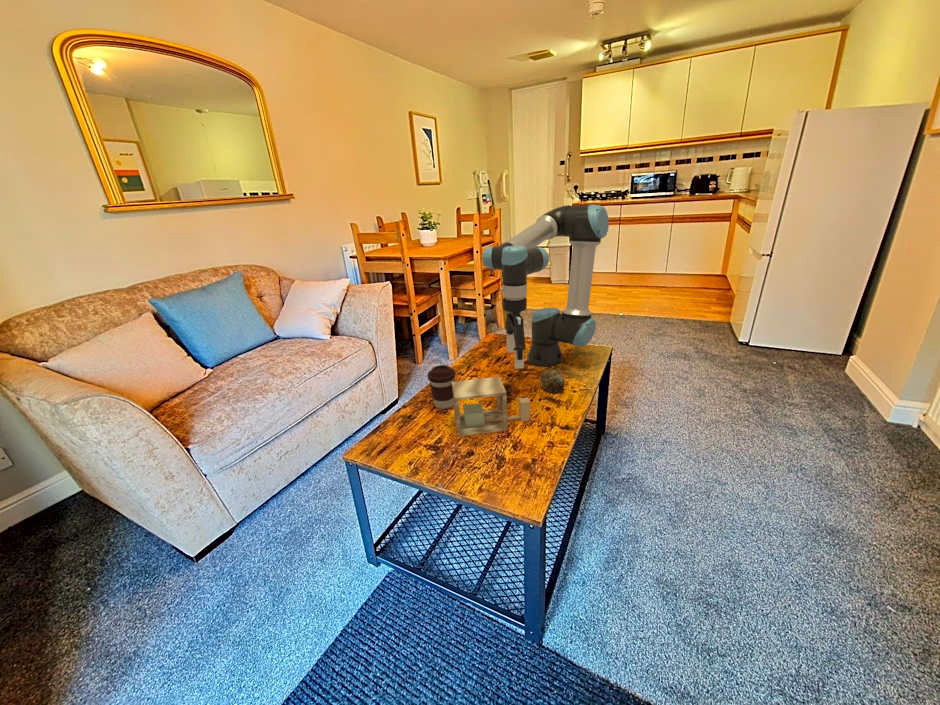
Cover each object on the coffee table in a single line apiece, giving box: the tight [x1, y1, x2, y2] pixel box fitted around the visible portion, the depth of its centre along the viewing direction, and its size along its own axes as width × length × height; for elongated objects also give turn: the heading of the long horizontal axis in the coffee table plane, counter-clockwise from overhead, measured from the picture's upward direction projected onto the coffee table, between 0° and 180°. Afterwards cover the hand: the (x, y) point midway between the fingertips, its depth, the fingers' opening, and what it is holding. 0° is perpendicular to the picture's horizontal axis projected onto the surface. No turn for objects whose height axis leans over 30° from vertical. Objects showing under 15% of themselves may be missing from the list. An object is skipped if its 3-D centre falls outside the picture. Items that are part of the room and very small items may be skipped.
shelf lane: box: [452, 376, 508, 437], centre depth 128 cm, size 16×11×15 cm
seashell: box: [540, 368, 565, 394], centre depth 150 cm, size 11×9×8 cm
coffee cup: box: [427, 364, 456, 410], centre depth 142 cm, size 10×10×15 cm
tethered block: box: [463, 397, 531, 428], centre depth 130 cm, size 22×6×8 cm, turn 97°
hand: (514, 359), depth 131 cm, fingers open, 13 cm apart
